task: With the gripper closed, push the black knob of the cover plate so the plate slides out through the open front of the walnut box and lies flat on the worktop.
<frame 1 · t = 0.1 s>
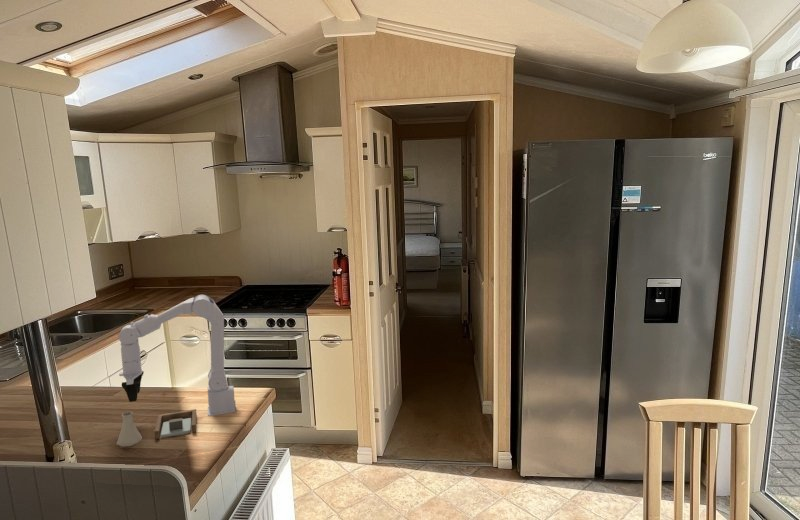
hand: (134, 396, 174), 10 cm above the countertop, tool pointing down, fingers open, 7 cm apart
cover plate: (176, 428, 170), resting on box
flask: (129, 443, 162), on the countertop
box: (177, 429, 171), on the countertop
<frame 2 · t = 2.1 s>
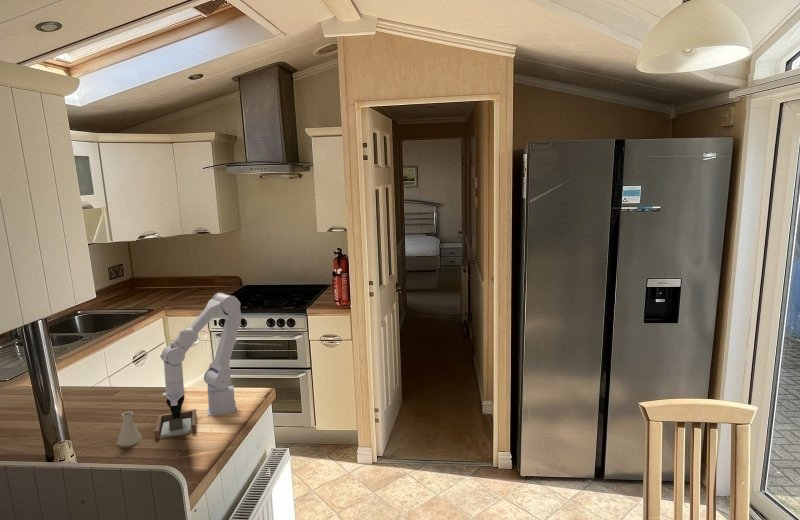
hand: (176, 417, 174), 3 cm above the countertop, tool pointing down, fingers closed
nothing on the countertop moved.
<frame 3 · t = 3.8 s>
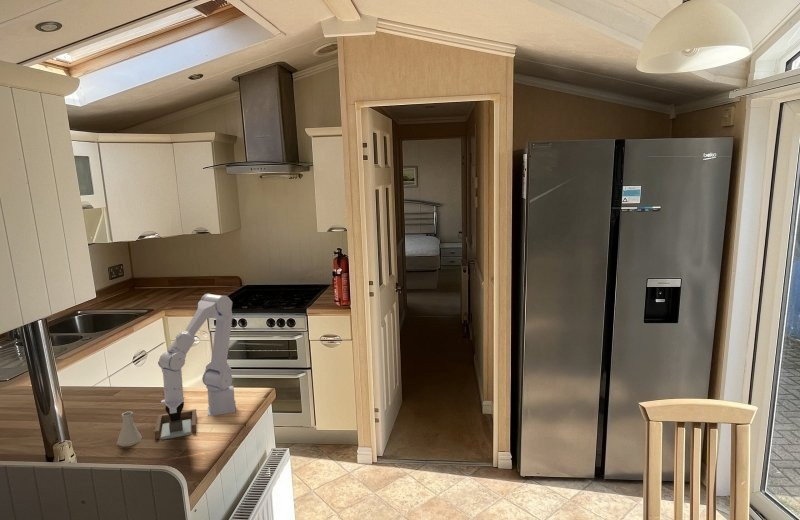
hand: (176, 424, 169), 2 cm above the countertop, tool pointing down, fingers closed, pressing on cover plate
cover plate: (176, 430, 169), resting on box, touching gripper
everything else where it was.
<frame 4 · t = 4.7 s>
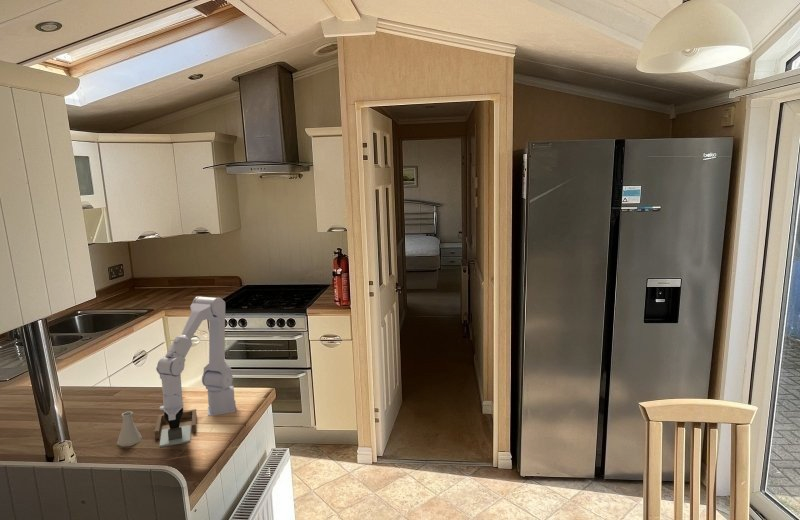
hand: (175, 431, 164), 2 cm above the countertop, tool pointing down, fingers closed
cover plate: (176, 437, 164), on the countertop, touching gripper
everything else where it was.
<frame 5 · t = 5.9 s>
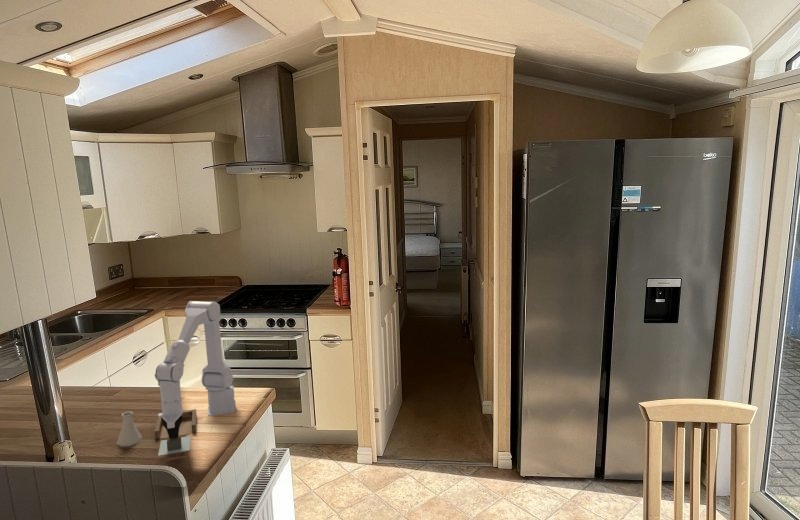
hand: (174, 439, 158), 2 cm above the countertop, tool pointing down, fingers closed
cover plate: (175, 448, 159), on the countertop, touching gripper
everything else where it was.
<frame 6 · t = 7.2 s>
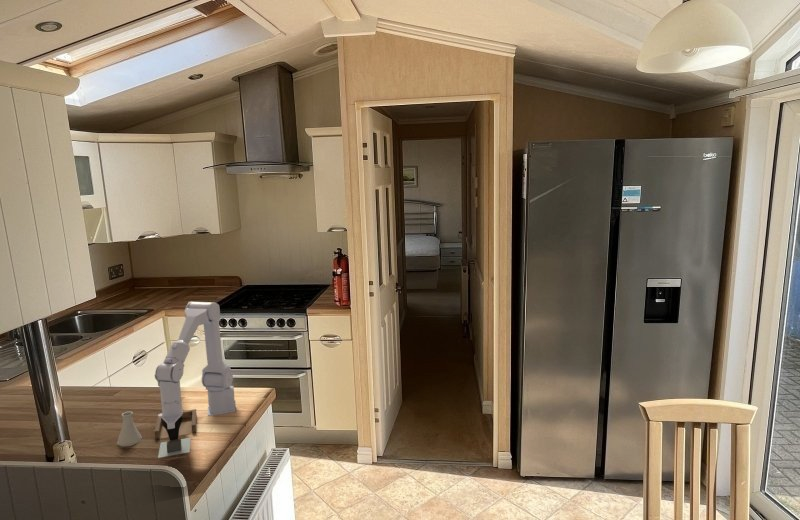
hand: (174, 440, 158), 2 cm above the countertop, tool pointing down, fingers closed
cover plate: (175, 450, 158), on the countertop
everything else where it was.
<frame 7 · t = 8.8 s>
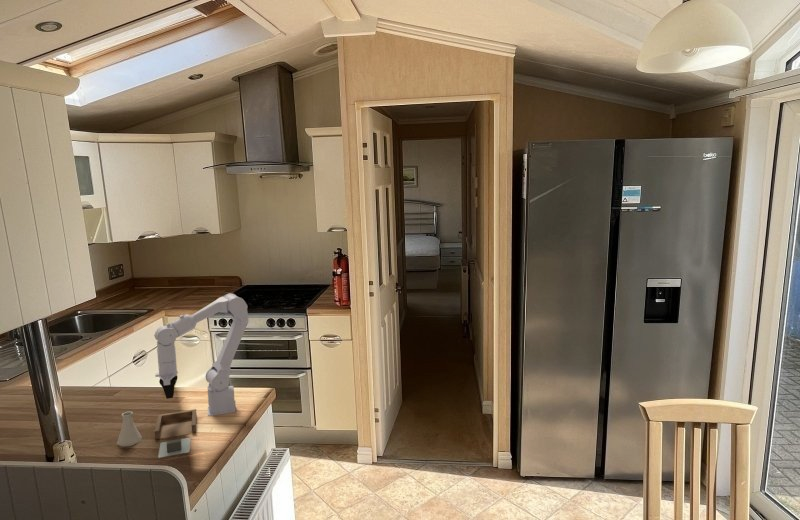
hand: (169, 397, 174), 9 cm above the countertop, tool pointing down, fingers closed
nothing on the countertop moved.
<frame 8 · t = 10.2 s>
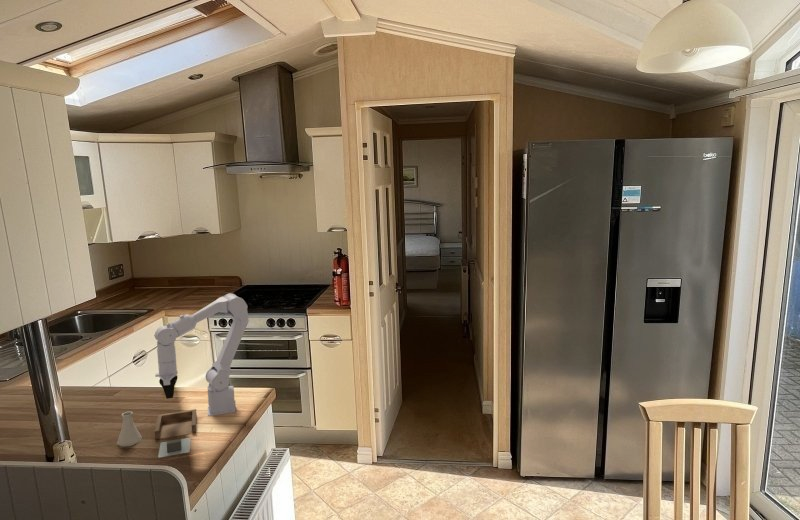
hand: (169, 397, 174), 9 cm above the countertop, tool pointing down, fingers closed
nothing on the countertop moved.
at the end: cover plate inside the target area (1.3 cm from its centre), on the countertop; cover plate tilted 0°; cover plate touching countertop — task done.
